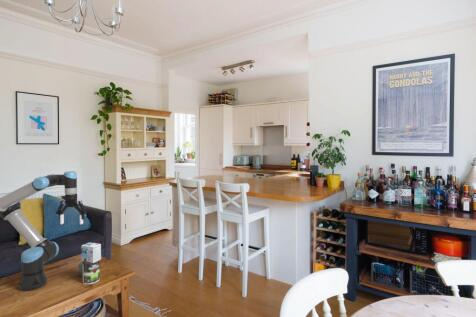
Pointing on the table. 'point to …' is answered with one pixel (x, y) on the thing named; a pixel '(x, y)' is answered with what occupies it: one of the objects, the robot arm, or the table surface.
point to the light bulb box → (91, 252)
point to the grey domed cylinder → (80, 269)
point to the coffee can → (90, 272)
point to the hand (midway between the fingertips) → (71, 223)
